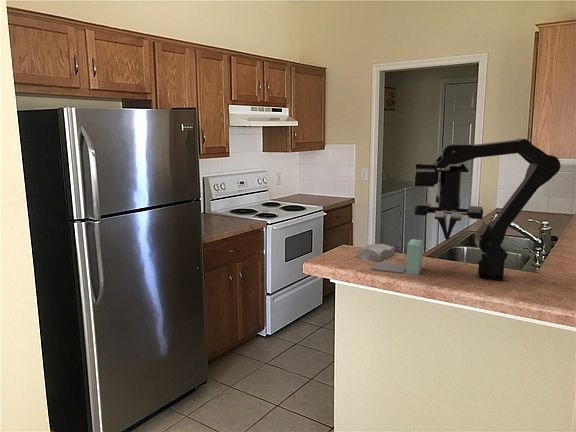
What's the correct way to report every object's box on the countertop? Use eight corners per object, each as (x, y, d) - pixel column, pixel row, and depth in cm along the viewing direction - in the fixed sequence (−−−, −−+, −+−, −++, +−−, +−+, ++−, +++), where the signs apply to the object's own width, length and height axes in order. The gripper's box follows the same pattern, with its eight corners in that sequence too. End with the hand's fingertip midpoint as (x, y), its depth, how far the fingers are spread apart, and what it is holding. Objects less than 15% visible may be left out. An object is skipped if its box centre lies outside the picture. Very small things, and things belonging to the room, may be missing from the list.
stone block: (355, 263, 162) (381, 262, 156) (353, 249, 162) (379, 247, 156) (371, 257, 172) (397, 255, 165) (369, 243, 171) (395, 242, 165)
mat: (407, 266, 152) (407, 265, 152) (403, 273, 144) (403, 272, 144) (376, 262, 156) (376, 261, 155) (370, 269, 148) (370, 268, 148)
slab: (421, 268, 150) (423, 240, 148) (418, 274, 144) (419, 245, 142) (409, 266, 151) (411, 239, 150) (406, 273, 145) (407, 244, 143)
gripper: (485, 185, 143) (481, 236, 145) (421, 182, 150) (419, 231, 153) (484, 190, 132) (480, 244, 135) (415, 187, 140) (413, 239, 143)
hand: (447, 239), depth 142 cm, fingers closed
